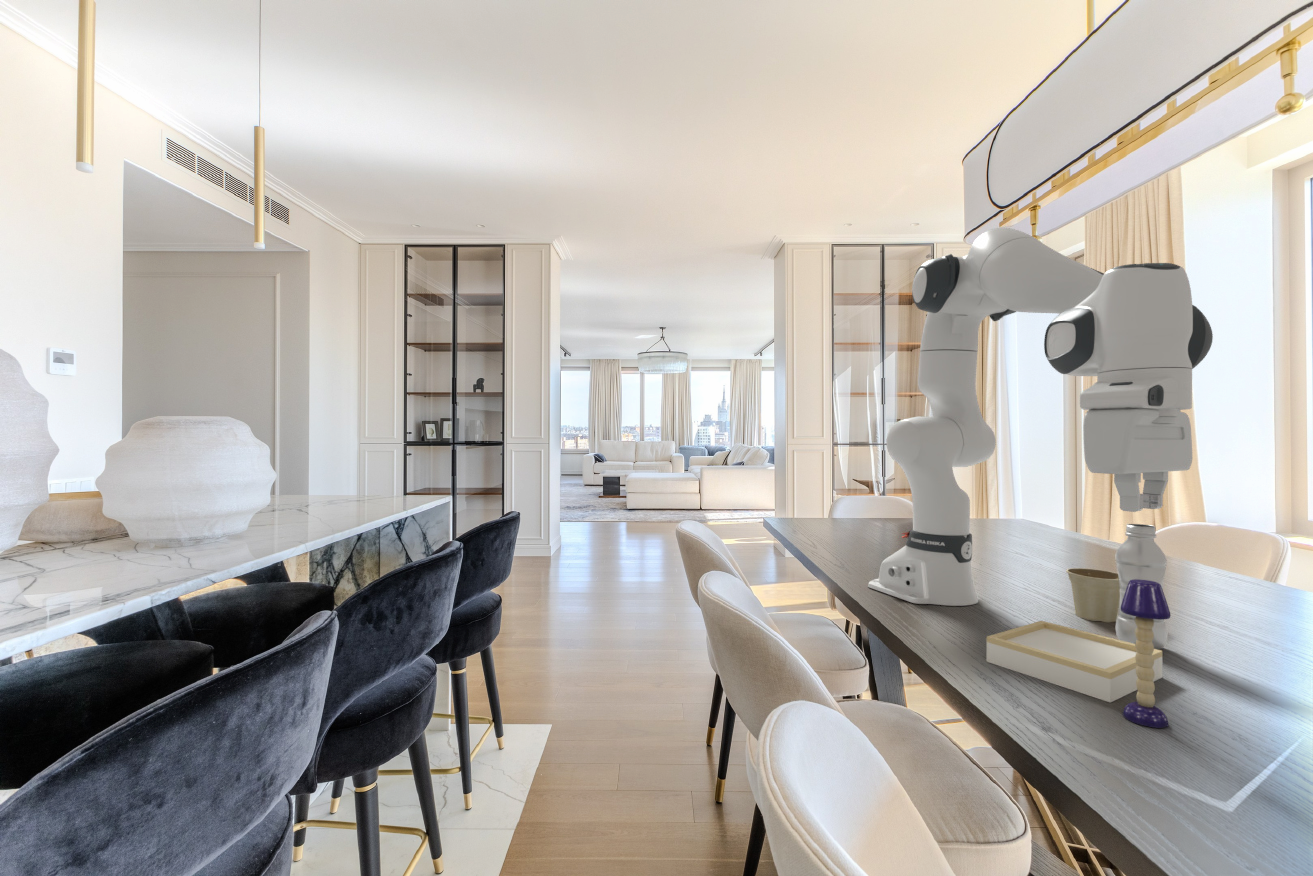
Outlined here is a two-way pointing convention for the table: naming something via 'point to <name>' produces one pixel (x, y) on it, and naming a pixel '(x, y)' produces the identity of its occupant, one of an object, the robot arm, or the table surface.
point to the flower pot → (1095, 593)
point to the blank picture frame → (1070, 658)
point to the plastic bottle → (1139, 577)
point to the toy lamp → (1145, 648)
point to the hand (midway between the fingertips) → (1141, 509)
